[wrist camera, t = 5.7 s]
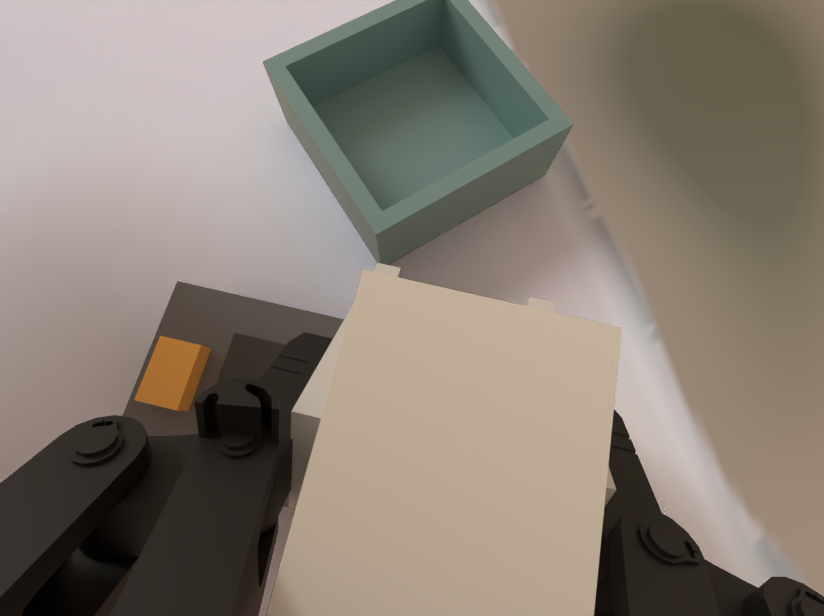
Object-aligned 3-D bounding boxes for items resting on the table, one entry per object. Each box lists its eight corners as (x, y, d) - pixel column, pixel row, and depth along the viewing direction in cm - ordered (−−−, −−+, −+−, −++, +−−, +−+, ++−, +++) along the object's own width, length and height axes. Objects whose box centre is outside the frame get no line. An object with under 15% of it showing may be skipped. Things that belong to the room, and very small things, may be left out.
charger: (462, 518, 15) (582, 732, 5) (356, 491, 15) (257, 644, 5) (487, 382, 16) (621, 327, 6) (388, 359, 16) (362, 268, 6)
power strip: (167, 451, 18) (87, 462, 14) (221, 307, 20) (166, 274, 16) (513, 538, 18) (551, 581, 13) (536, 380, 20) (577, 368, 15)
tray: (286, 120, 23) (262, 61, 19) (441, 45, 25) (447, -24, 21) (381, 268, 21) (375, 234, 17) (545, 174, 23) (573, 124, 19)
